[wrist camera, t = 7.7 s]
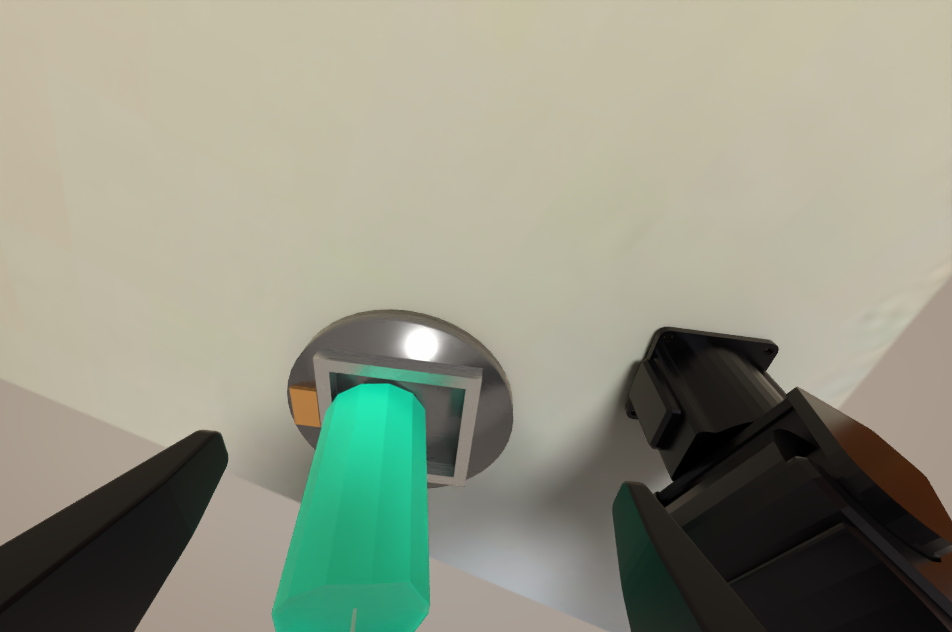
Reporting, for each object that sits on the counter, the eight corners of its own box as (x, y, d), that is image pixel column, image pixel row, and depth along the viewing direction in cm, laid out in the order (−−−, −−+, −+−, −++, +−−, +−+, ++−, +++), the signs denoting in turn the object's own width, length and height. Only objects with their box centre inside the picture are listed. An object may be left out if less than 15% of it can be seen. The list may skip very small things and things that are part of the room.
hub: (531, 326, 22) (534, 349, 20) (495, 485, 29) (495, 512, 27) (282, 294, 22) (261, 314, 20) (307, 461, 29) (294, 487, 27)
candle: (379, 465, 26) (354, 714, 16) (303, 421, 23) (215, 690, 13) (446, 418, 25) (466, 659, 14) (374, 365, 22) (337, 619, 12)
